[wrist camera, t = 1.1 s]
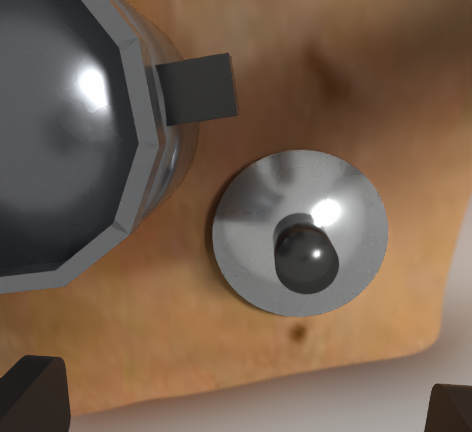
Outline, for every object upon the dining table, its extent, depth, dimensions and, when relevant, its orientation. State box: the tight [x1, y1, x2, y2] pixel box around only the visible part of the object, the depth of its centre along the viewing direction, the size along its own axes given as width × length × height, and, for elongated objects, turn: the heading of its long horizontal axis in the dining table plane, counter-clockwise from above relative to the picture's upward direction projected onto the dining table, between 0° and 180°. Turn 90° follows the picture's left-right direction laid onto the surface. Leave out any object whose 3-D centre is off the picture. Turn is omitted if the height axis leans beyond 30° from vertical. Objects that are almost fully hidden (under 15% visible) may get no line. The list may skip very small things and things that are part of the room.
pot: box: [0, 0, 239, 294], centre depth 21 cm, size 21×15×11 cm
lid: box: [212, 149, 388, 317], centre depth 25 cm, size 12×12×6 cm
